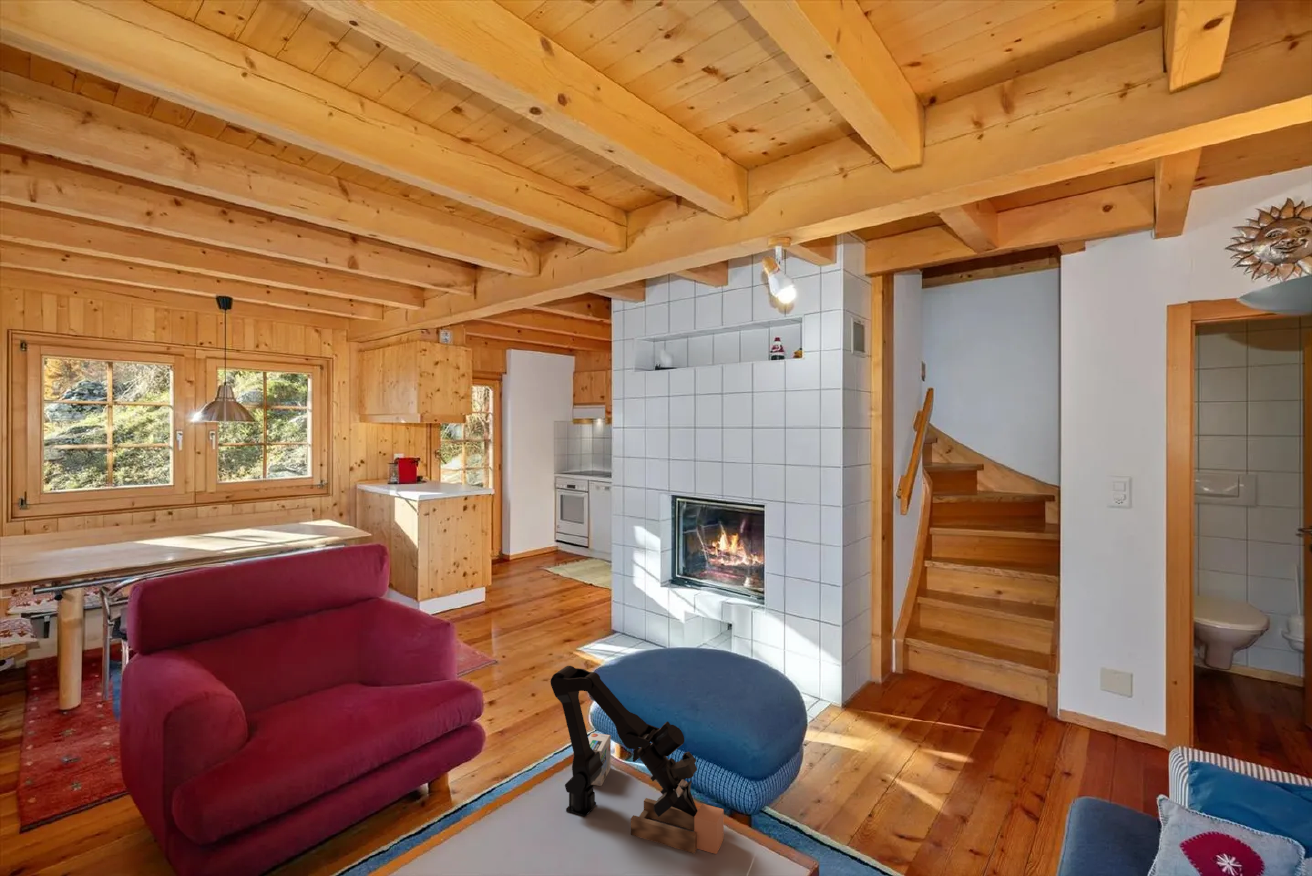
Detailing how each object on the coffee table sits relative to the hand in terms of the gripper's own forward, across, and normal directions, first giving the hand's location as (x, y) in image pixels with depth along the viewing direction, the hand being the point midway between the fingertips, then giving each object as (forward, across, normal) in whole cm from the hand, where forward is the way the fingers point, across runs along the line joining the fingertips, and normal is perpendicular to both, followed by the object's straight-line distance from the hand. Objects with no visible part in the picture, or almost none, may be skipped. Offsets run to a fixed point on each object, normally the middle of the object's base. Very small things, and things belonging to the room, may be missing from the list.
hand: (697, 816), depth 157 cm
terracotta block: (+7, 0, +2) cm, 7 cm away
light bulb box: (-23, +16, +32) cm, 43 cm away
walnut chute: (-1, 0, +10) cm, 10 cm away
